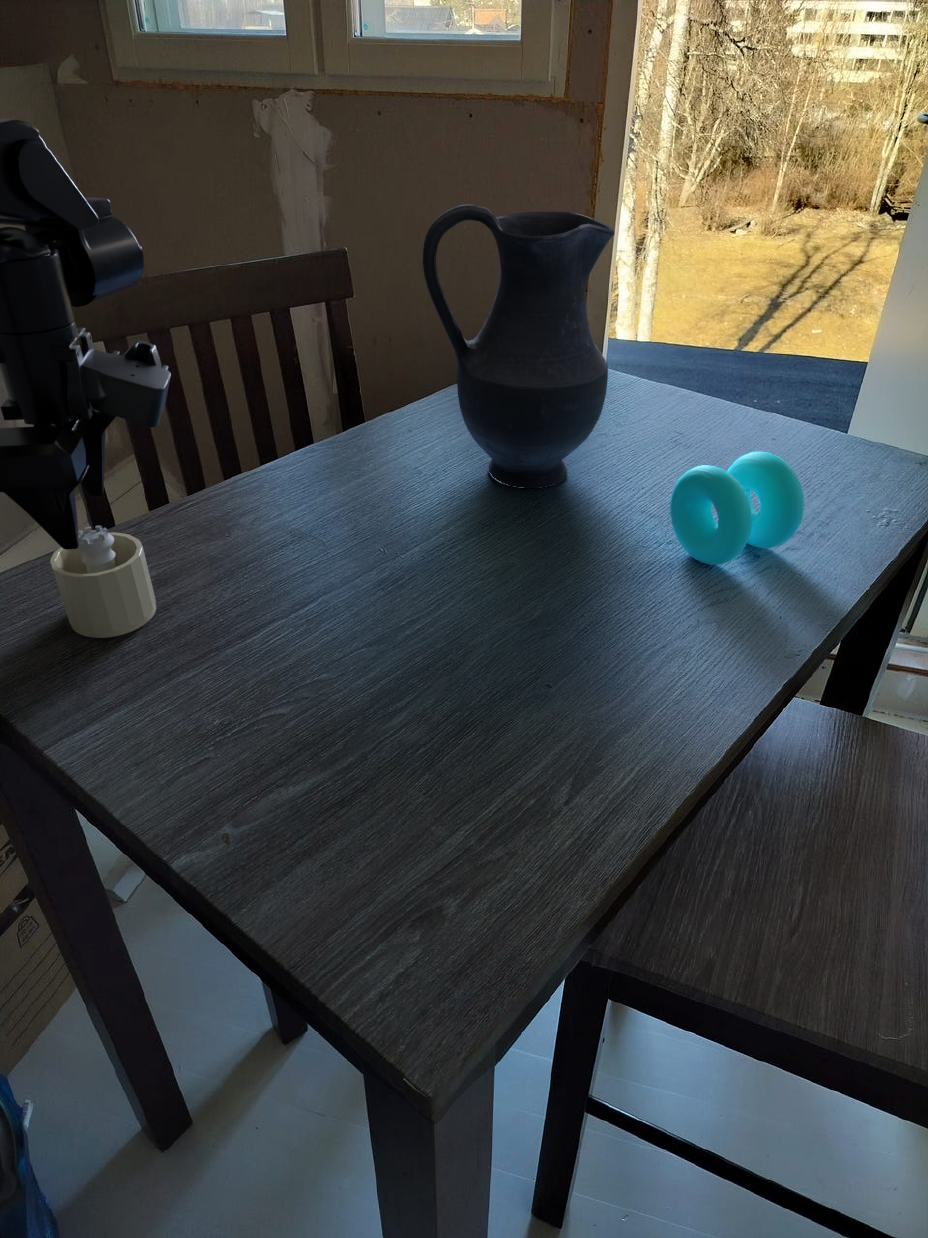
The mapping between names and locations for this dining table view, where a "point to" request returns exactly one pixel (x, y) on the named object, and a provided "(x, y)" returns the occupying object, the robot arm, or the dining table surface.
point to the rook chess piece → (96, 549)
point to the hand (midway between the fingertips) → (84, 520)
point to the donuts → (736, 507)
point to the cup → (106, 590)
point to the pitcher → (529, 343)
